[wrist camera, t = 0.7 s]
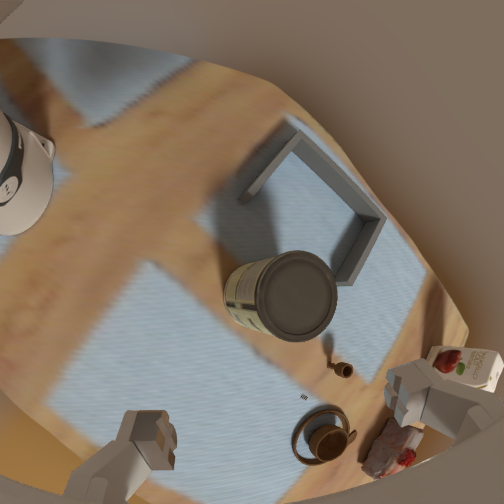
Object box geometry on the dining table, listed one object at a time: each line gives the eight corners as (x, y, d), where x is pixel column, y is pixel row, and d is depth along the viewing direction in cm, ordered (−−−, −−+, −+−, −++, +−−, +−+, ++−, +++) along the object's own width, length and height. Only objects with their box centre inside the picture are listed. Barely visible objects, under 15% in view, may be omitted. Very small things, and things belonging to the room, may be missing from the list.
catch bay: (237, 199, 47) (247, 190, 43) (287, 140, 52) (299, 129, 48) (336, 286, 52) (352, 285, 48) (371, 222, 56) (387, 218, 52)
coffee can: (293, 273, 49) (346, 267, 36) (275, 335, 47) (325, 350, 34) (234, 252, 46) (272, 236, 33) (213, 318, 44) (244, 329, 31)
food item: (374, 471, 51) (403, 488, 42) (353, 468, 49) (383, 486, 40) (403, 421, 55) (434, 432, 46) (384, 414, 53) (418, 426, 44)
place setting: (264, 448, 44) (278, 464, 39) (323, 352, 50) (343, 358, 45) (331, 469, 48) (348, 481, 43) (380, 387, 54) (400, 393, 48)
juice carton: (443, 356, 61) (506, 363, 43) (428, 386, 59) (492, 399, 41) (431, 341, 60) (499, 346, 42) (416, 372, 57) (485, 385, 39)
